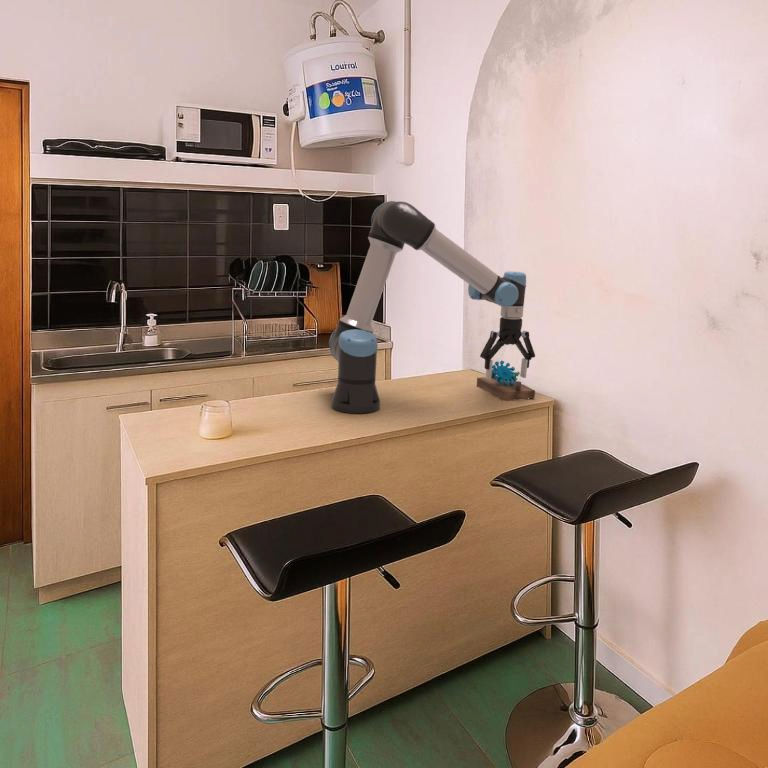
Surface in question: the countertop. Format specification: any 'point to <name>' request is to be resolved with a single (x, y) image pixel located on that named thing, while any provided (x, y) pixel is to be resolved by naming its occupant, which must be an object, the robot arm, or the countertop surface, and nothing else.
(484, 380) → the stand
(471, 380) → the countertop surface
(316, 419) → the countertop surface
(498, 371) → the blue spiky virus toy
